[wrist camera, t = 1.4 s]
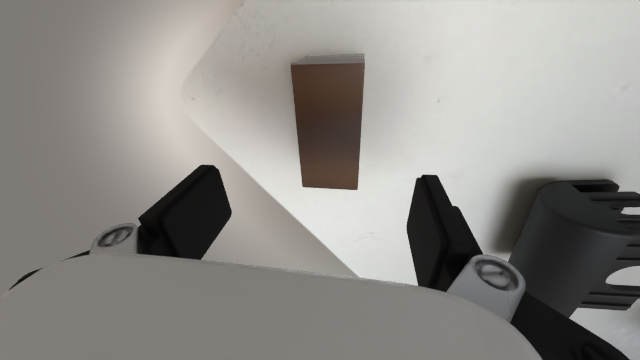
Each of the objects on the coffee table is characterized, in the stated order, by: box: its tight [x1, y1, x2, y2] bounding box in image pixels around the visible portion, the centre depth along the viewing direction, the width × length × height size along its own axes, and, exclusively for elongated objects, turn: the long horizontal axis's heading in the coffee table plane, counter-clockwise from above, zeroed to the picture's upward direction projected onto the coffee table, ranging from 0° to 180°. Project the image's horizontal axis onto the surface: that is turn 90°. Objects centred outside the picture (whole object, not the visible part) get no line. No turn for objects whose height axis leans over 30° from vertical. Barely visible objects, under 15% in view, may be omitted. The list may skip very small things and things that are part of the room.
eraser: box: [291, 54, 365, 190], centre depth 18 cm, size 9×4×4 cm, turn 2°
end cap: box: [508, 180, 640, 318], centre depth 20 cm, size 10×7×7 cm
